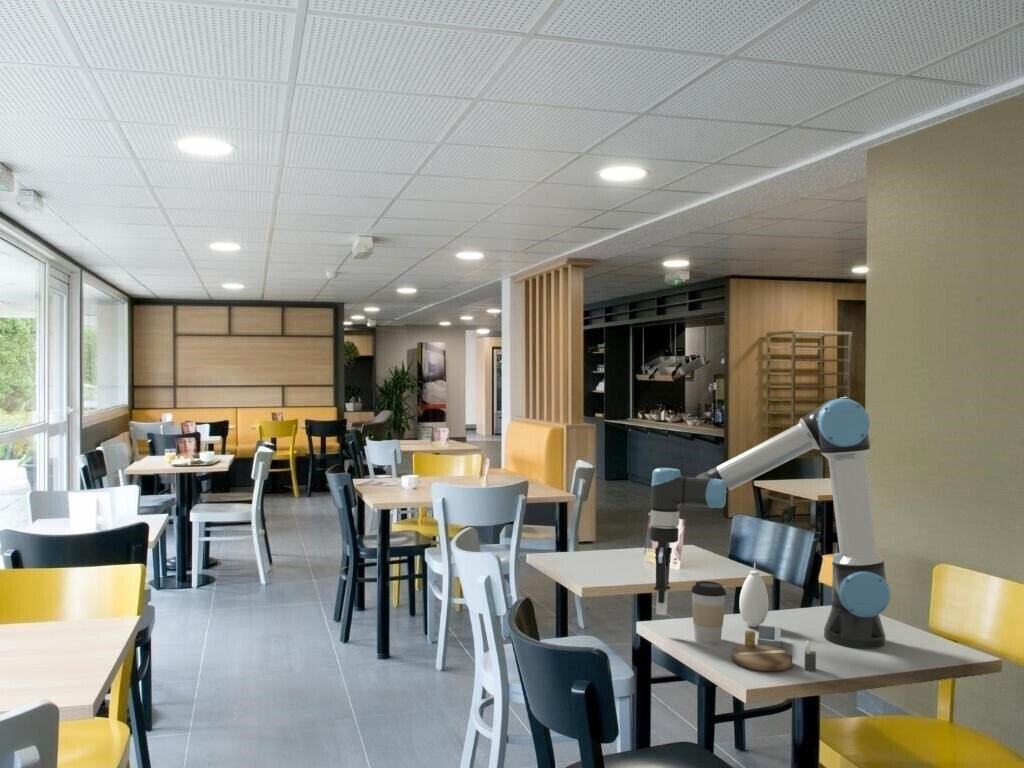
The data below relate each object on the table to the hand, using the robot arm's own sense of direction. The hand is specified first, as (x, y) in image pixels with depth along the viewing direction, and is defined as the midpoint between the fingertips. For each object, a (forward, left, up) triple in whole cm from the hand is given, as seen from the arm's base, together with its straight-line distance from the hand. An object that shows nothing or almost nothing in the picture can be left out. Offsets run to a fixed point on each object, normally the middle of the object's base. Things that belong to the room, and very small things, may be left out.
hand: (661, 614), depth 224 cm
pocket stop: (-28, 0, -5) cm, 28 cm away
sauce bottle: (-23, -18, -6) cm, 30 cm away
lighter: (-37, +15, -5) cm, 41 cm away
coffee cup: (-12, 0, -6) cm, 13 cm away
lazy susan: (-26, +15, -5) cm, 31 cm away
